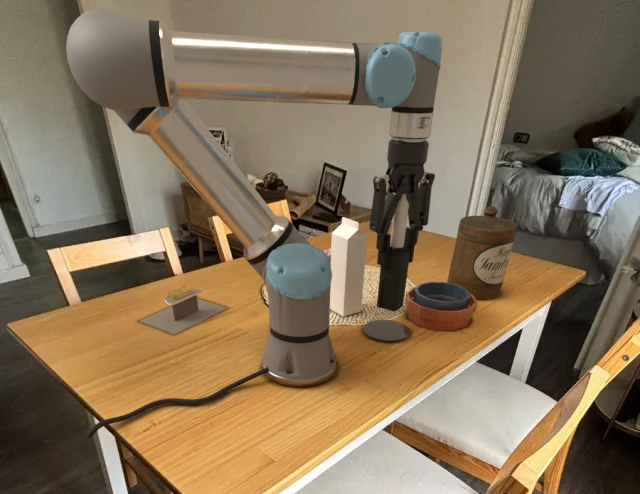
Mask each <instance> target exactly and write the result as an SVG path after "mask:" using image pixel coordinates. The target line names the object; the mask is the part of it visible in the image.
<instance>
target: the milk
mask: <svg viewBox="0 0 640 494" xmlns="http://www.w3.org/2000/svg"><path fill="white" fill-rule="evenodd" d="M359 227H360V223H359V222H358V221H357V220H356V221H355V220H353V219H351V218H348V217H345V216H342V218H341V223H340V225H338V227H336V228H335V229H334V230H333V231H332V232H331V241H330V242H331V243H330V246H331V247H330V248H331V258H330V262H331V270H332V281H331V290H330V311H333V312H334V313H336V314H338V315H340V316H341V317H343V318H344V317H347V316H351V315H353V314H357V313H360V312H362V305H363V293H364V292H363V291H364V281H365V268H366V257H367V245H368V234H366V233H365V232H363V231H362V230H360V229H359Z"/></svg>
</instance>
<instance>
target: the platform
mask: <svg viewBox="0 0 640 494" xmlns="http://www.w3.org/2000/svg"><path fill="white" fill-rule="evenodd" d="M167 294H168V296H165V297H164V298H163V299H164V302H165V303H166V304H167V306H170V307H167V308H165V309H164V310H160V311H158V312H155V313H153V314H152V315H149V316H148V317H145V318H142V319H141V320H139V322H141V323H142V324H146V325H149V326H151V327H154V328H156V329H159V330H161V331H164V332H167V333H169V334H171V335H176V334H179V333H180V332H182V331H184V330H186V329H188V328H191V327H193V326H195V325H197V324H199V323H201V322H202V321H204V320H206V319H208V318H211V317H212V316H215V315H216V314H218V313H220V312H223V311H224V310H227V307H225V306H222V305H219V304H215V303H212V302H209V301H206V300H203V299H201V298H198V296H197V295H201V294H202V290H201V289H199V288H192V287H191V285H189V286H188V287H187V286H186V284H184V285H182V286H179V287H176V288H174V289H172V290H170V291H167Z"/></svg>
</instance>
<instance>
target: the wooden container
mask: <svg viewBox="0 0 640 494" xmlns="http://www.w3.org/2000/svg"><path fill="white" fill-rule="evenodd" d="M498 212H499V210H498V208H496V206H491V205H490V206H488V207H485V208H484V210H483V213H484V215H469V216H465V217H461V219H460V221H459V224H458V228H457V234H456V238H455V244H454V249H453V252H452V257H451V262H450V266H449V271H448V276H447V282H446V283H451V284H456V285H459V286H461V287H463V288H465V289H467V290H468V292H469V293H470V294H472V295H473V296H474V297H475V299H476V300H481V301H483V300H491V299H495V298H497V297H498V296H500V294H501V291H502V287H503V283H504V281H505V276H506V273H507V270H508V265H509V261H510V257H511V254H512V249H513V245H514V240H515V237H516V234H517V231H518V224H517V223H516V222H514V221H512V220H509V219H507V218H503V217H498V216H496V215H498Z"/></svg>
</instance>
